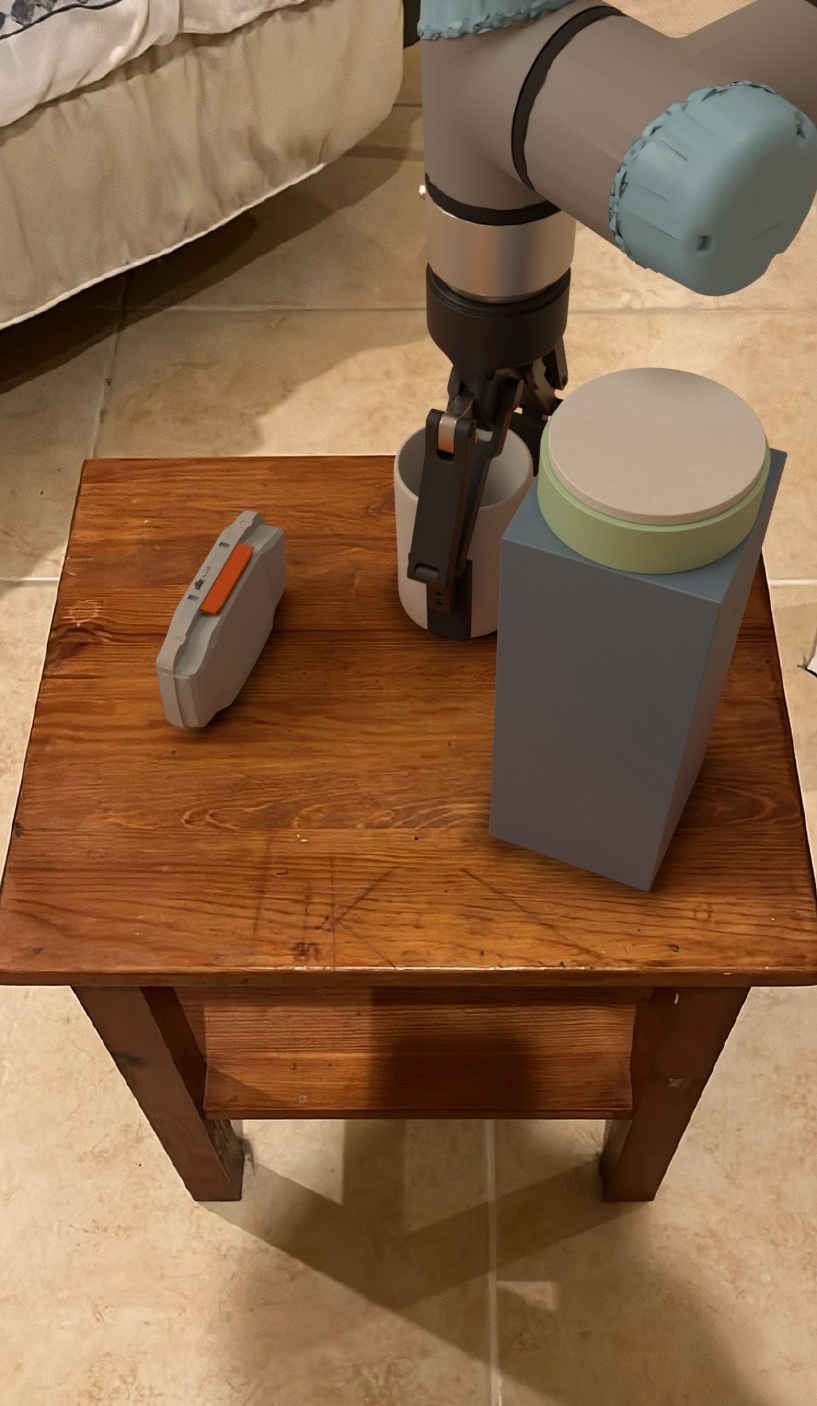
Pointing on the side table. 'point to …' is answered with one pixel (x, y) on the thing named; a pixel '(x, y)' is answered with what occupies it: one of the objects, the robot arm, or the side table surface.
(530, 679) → the stand
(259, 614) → the grey case
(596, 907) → the side table surface
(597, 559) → the round tin
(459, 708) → the side table surface
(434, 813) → the side table surface
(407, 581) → the mug
